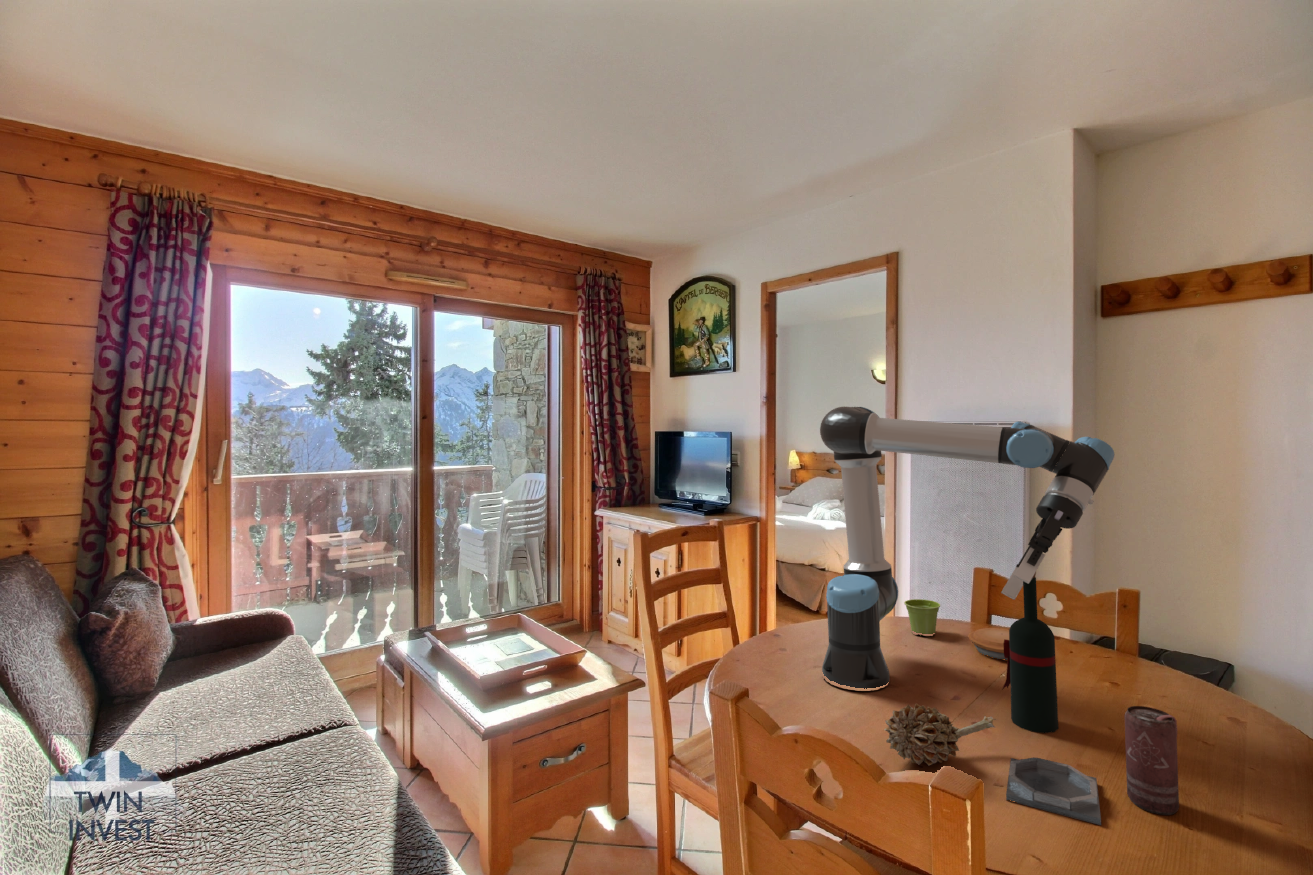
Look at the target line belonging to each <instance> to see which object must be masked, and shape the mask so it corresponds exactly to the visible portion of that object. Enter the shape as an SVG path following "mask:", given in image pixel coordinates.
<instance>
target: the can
mask: <svg viewBox="0 0 1313 875" xmlns="http://www.w3.org/2000/svg"><path fill="white" fill-rule="evenodd" d="M1177 722H1178V721H1177V719H1176V717H1175V716H1173V715H1170V714H1169V713H1168V712H1166V711H1163V710H1161V709H1157V708H1155V707H1149V706H1142V705H1133V706H1129V707H1127V709H1126V711H1125V714H1124V735H1125V737H1124V739H1125V742H1124V743H1125V764H1126V766H1125V767H1126V771H1125V772H1126V793H1127V797H1128V798H1129V799H1130V801H1131V802H1132V804H1134V805H1135V806H1136V807H1138V808H1140V809H1141V810H1144V811H1146V812H1148V813H1152V814H1156V815H1159V816H1161V815H1162V816H1171V815H1175V814H1176V813H1177V812H1178V811H1179V809H1180V801H1179V800H1180V799H1179V798H1180V796H1179V771H1178V770H1179V768H1178V767H1179V766H1178V765H1179V764H1178V763H1179V762H1178V725H1177Z"/></svg>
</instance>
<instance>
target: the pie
mask: <svg viewBox="0 0 1313 875" xmlns="http://www.w3.org/2000/svg"><path fill="white" fill-rule="evenodd" d="M1009 629H1010V628H1009ZM1009 629H1008V628H1001V627H985V628H979V629H976V630H974V631H971V632H969V634H968V635H967V636H968V639H969V640H970V642H972V644H973V646H975V648H976V650H977V651H978V653H980V654H981V653H982V654H981V655H983V654H984V655H983V656H985V655H988V656H990V657H993V658H992V659H994V658H997V659H996V660H998V659H1005V660H1008V658H1005V657H1004V644H1003V643H1004V639H1006V640H1009ZM990 657H989V658H990ZM1005 660H1004V661H1005Z"/></svg>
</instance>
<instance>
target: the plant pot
mask: <svg viewBox="0 0 1313 875" xmlns="http://www.w3.org/2000/svg"><path fill="white" fill-rule="evenodd" d="M903 603H904V605H905V607H906V610H907V613H908V619H909V625H910V631H911V630H912V631H914V632H916V633H922V634H933V633H935V634H936V632H937V631H936V628H937V620H938V612H939V609H940V607H941V604H940V603H939V602H937V601H934V600H930V599H923V598H922V599H920V598H919V599H918V598H917V599H916V598H915V599H913V598H912V599H907V600H905V601H904V602H903ZM912 631H911V632H912Z"/></svg>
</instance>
